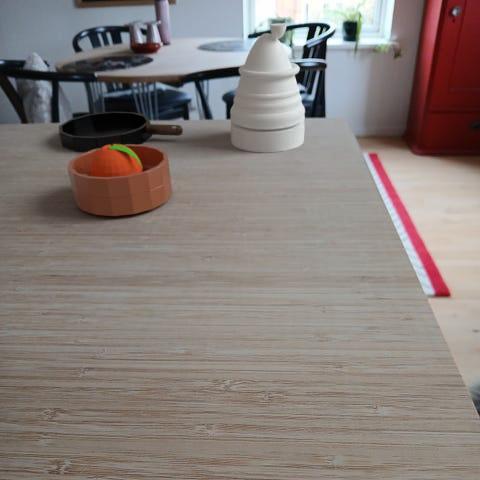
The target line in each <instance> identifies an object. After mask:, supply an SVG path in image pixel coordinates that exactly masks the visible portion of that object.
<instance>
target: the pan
mask: <svg viewBox="0 0 480 480" xmlns="http://www.w3.org/2000/svg"><path fill="white" fill-rule="evenodd" d="M183 132H184V129H183V127H182V125H179V124H158V123H151V121H150V119H149V118H148V115H145V114H140V113H137V112H133V111H107V112H97V113H88V114H84V115H82V116H81V115H80V116H78V117H73V118H71V119H69V120H67V121H65V122H63V123H61V124H60V125H59V126H58V133H59V138H60V142H61V146H62V147H63V148H65V149H68V150H70V151H73V150H74V151H73V152H76V151H78V152H80V153H85V152H88V151H91V150H94V149H98V148H102V147H103V146H105V145H109V144H121V145H127V144H134V145H143V144H144V143H145V142H147V141H148V140H149V139H150V138H151V137H152V136H171V137H173V136H175V137H179V136H181V135H182V134H183Z"/></svg>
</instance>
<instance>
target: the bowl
mask: <svg viewBox="0 0 480 480" xmlns="http://www.w3.org/2000/svg"><path fill="white" fill-rule="evenodd" d="M124 146H126V147H128V148H130V149H131V150H132V151H133V152H134V153H135V154H136V155H137V156H138V158H139V160H140V162H141V165H142V167H143V168H142V172H140V173H136V174H132V175H127V176H117V177H92V176H91V162H92V158H93V157H94V155H95V153H96V152H97V151H98V150H99V149H100V148H98V149H94V150H91V151H88V152H82V153H80V154H78V155H77V156H75V157H73V158H72V159H71V160H70V161H69V162H68V165H67V168H66V169H67V172H68V176H69V181H70V185H71V189H72V194H73V197H74V198H73V199H74V202H75V205H77V207H78V208H79V209H80V210H81V211H82V212H86V213H89V214H92V215H96V216H105V217H106V216H108V217H118V216H128V215H129V216H130V215H136V214H139V213H143V212H146V211H151V210H154V209H156V208H157V207H159V206H161V205H164V204H166V202H168V200H169V199H170V198H171V197H172V195H173V189H172V180H171V172H170V171H171V170H170V163H169V156H168V152H166V151H165V150H163V149H162V148H160V147H157V146H152V145H148V144H139V145H134V144H127V145H124Z"/></svg>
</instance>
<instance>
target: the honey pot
mask: <svg viewBox="0 0 480 480" xmlns="http://www.w3.org/2000/svg"><path fill="white" fill-rule="evenodd" d="M269 30H270V33H269V32H265V33H262V34H261V35H260V36H259V37H258V38H257V39H256V40H255V42H254V43H253V44H252V46H251V48H250V50H249V52H248V55H247V57H246V60H245V61H244V64H243V65H241V66H240V67H239V68H238V73H239V75H240V76H239V80H238V82H237V83H238V84H237V87H236V88H235V91H234V92H235V95H234V97H233V104H232V106H231V108H230V112H229V114H230V140H231V145H232V146H234V147H235V148H237V149H239V150H242V151H245V152H251V153H278V152H279V153H280V152H286V151H289V150H293V149H296V148H298V147H300V146H301V145H302V144H304V141H305V126H306V125H305V123H306V122H305V118H306V116H305V114H306V108H305V106H304V103H303V101H302V100H303V99H302V98H303V97H302V96H301V93H300V92H301V91H300V90H301V89H300V87H299V85H298V82H297V79H296V75H297V74H299V72H300V70H301V68H300V66H299V65H298V64H297V63H295V62H291V61H290V58H289V56H288V54H287V52H286V51H287V50H285V48H284V46H283V44H282V43H281V41H280V40H279V39H281V38H283V36H284V35H285V33H286V30H287V23H284V22H283V23H282V22H281V23H278V22H276V23H271V24H269Z"/></svg>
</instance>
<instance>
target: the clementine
mask: <svg viewBox="0 0 480 480" xmlns="http://www.w3.org/2000/svg"><path fill="white" fill-rule="evenodd" d="M142 168H143V167H142V165H141V162H140V160H139V158H138V156H137V155H136V154H135V153H134V152H133V151H132V150H131V149H130V148H128V147H126V146H124V145H121V144H109V145H105V146H103V147H102V148H100V149H99V150H98V151H97V152H96V153H95V155H94V157H93V158H92V162H91V176H92V177H117V176H127V175H132V174H136V173H140V172H142Z"/></svg>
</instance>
